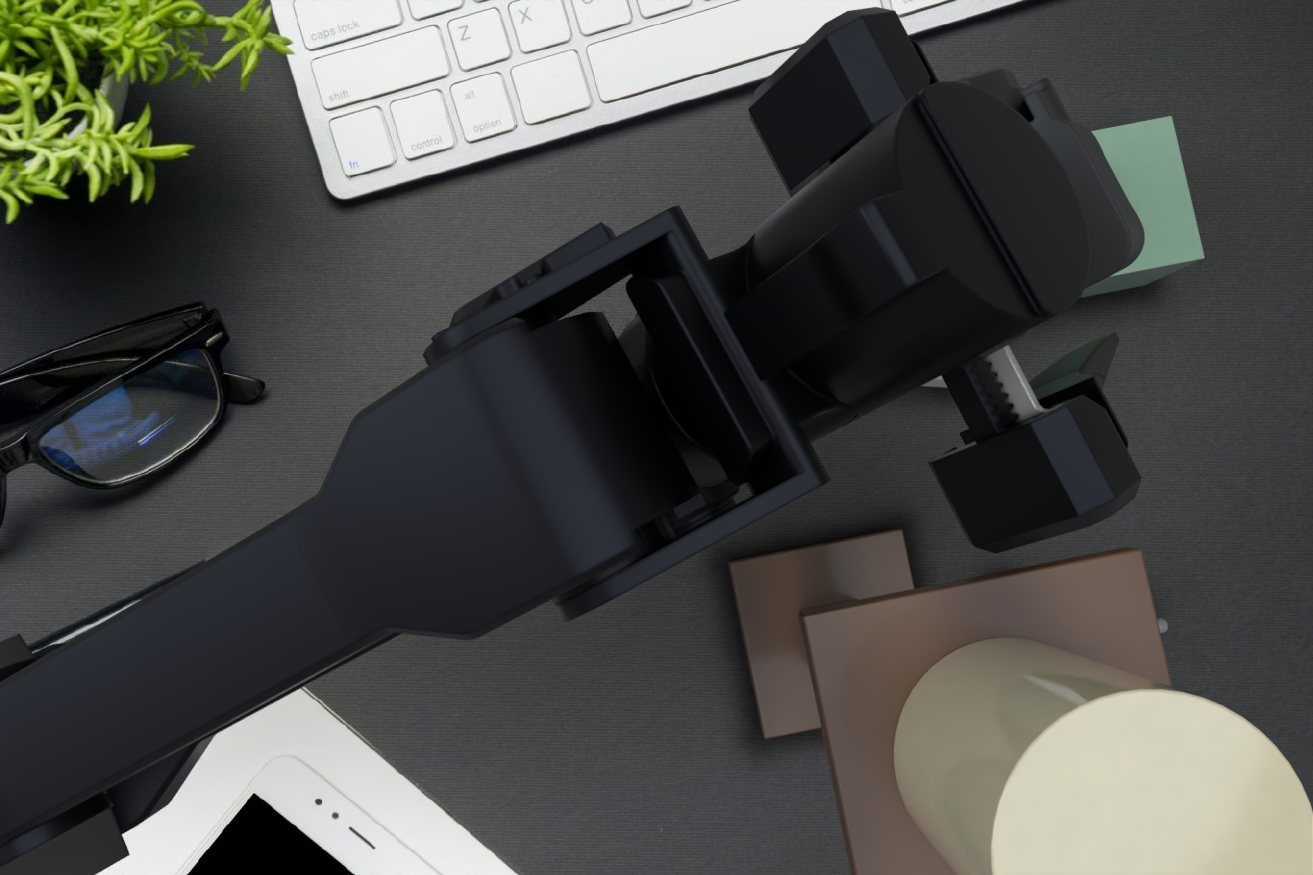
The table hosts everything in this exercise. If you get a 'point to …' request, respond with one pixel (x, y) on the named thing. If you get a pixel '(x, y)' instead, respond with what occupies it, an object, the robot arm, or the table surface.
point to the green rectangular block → (1151, 201)
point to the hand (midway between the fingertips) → (1052, 236)
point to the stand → (911, 656)
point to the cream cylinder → (1090, 772)
